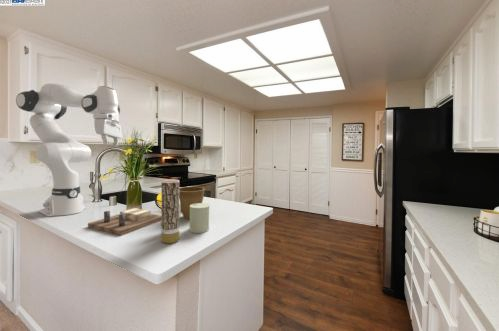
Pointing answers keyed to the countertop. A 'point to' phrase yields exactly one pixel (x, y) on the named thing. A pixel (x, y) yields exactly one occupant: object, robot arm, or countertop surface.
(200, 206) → the can
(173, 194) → the grey patterned cylinder
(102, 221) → the board
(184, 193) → the plant pot
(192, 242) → the countertop surface
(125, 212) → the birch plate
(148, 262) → the countertop surface
